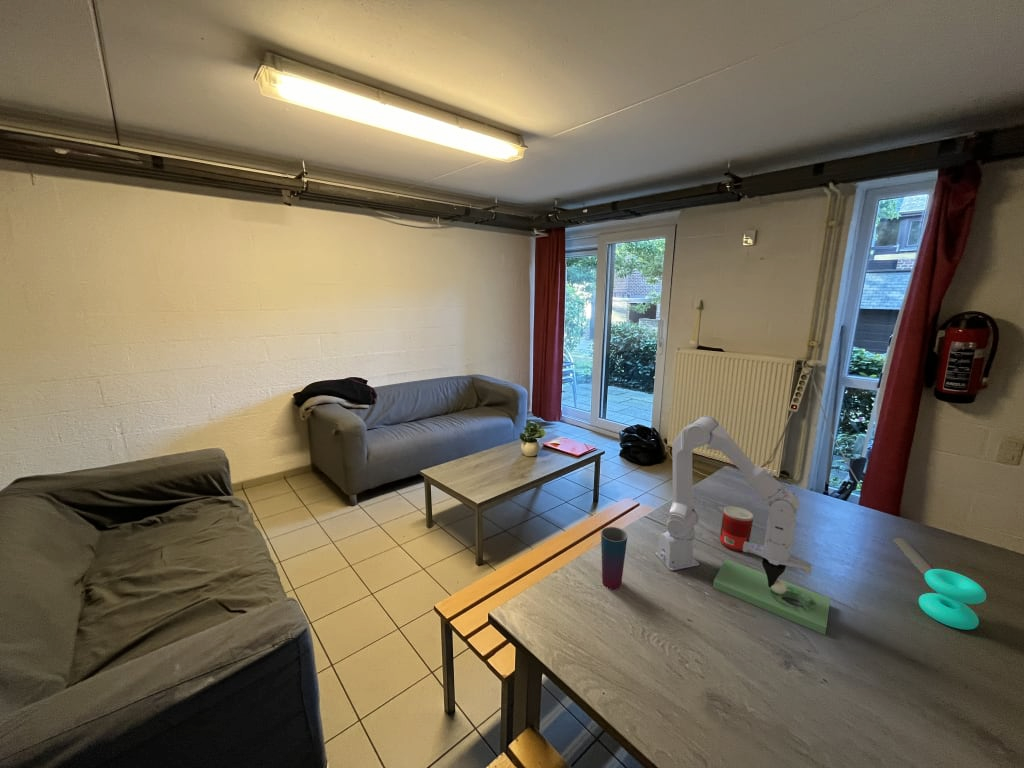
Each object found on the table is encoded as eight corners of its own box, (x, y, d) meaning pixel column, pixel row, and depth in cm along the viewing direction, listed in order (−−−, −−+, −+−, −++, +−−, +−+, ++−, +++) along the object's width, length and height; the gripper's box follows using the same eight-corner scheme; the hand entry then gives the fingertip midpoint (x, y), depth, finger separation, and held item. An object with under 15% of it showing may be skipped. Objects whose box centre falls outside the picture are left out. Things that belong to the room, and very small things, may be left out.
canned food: (752, 553, 122) (757, 520, 120) (723, 549, 123) (728, 517, 121) (742, 538, 129) (748, 507, 127) (716, 535, 131) (720, 504, 129)
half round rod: (907, 544, 127) (909, 539, 126) (947, 585, 109) (948, 579, 108) (890, 541, 128) (891, 536, 128) (926, 581, 110) (928, 576, 110)
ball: (771, 584, 102) (777, 598, 101) (784, 580, 101) (791, 593, 101) (764, 579, 105) (771, 592, 105) (778, 574, 105) (784, 587, 104)
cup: (595, 586, 109) (597, 537, 106) (602, 571, 115) (604, 524, 111) (621, 595, 106) (624, 544, 102) (627, 579, 112) (630, 530, 108)
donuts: (943, 563, 102) (998, 590, 92) (934, 597, 104) (988, 627, 95) (915, 570, 99) (969, 599, 90) (907, 605, 101) (959, 637, 92)
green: (712, 587, 108) (713, 580, 108) (724, 564, 117) (725, 558, 117) (825, 635, 93) (826, 627, 92) (828, 605, 102) (830, 598, 101)
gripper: (742, 534, 103) (736, 581, 106) (812, 558, 94) (803, 608, 97) (748, 523, 108) (742, 567, 111) (815, 544, 99) (807, 592, 102)
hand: (771, 585), depth 104 cm, fingers closed, pressing on ball
